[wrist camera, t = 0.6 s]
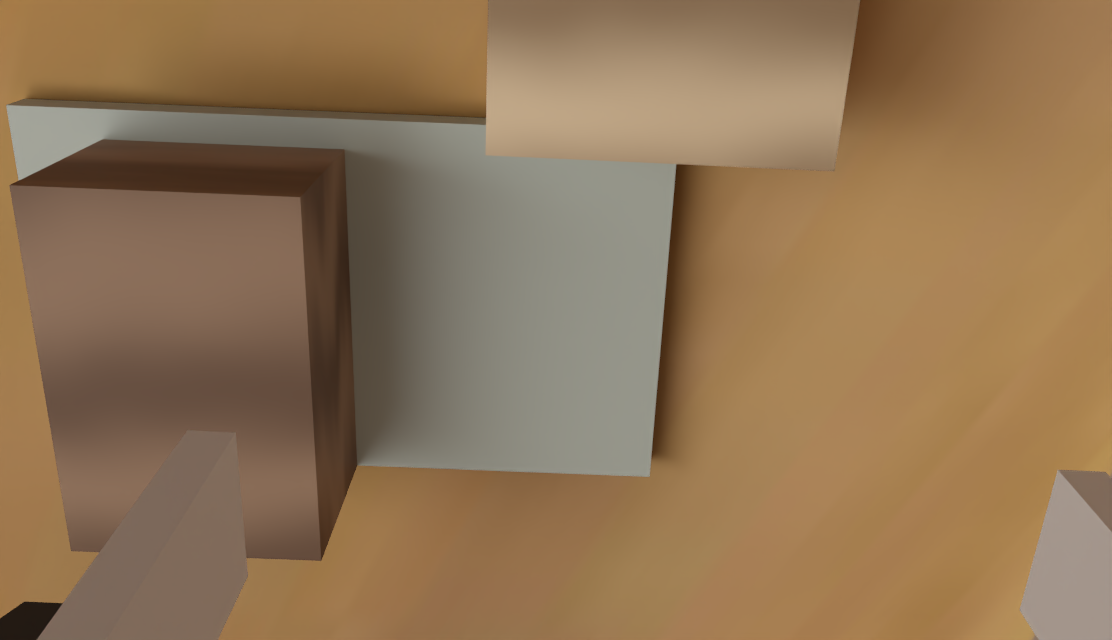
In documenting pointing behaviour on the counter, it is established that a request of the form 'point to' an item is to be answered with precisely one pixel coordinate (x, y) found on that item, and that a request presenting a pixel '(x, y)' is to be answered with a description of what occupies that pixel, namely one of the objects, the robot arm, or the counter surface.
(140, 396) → the walnut base brick
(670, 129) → the oak brick
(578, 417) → the board
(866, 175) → the counter surface
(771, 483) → the counter surface
